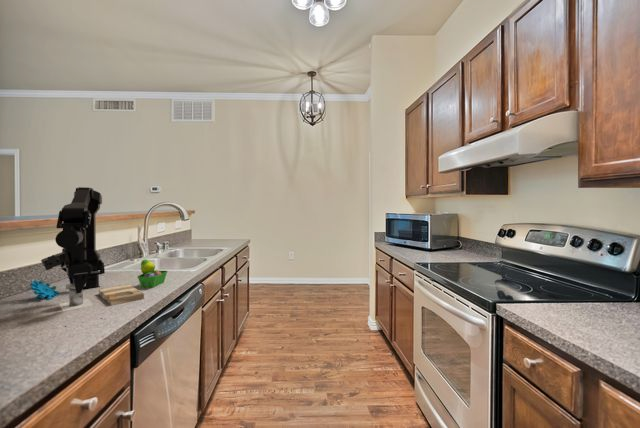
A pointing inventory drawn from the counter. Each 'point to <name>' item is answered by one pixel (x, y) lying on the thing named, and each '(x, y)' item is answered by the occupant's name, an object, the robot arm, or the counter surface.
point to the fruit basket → (150, 275)
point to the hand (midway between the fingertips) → (76, 290)
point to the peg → (74, 295)
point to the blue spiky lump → (43, 290)
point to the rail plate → (120, 294)
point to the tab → (66, 306)
